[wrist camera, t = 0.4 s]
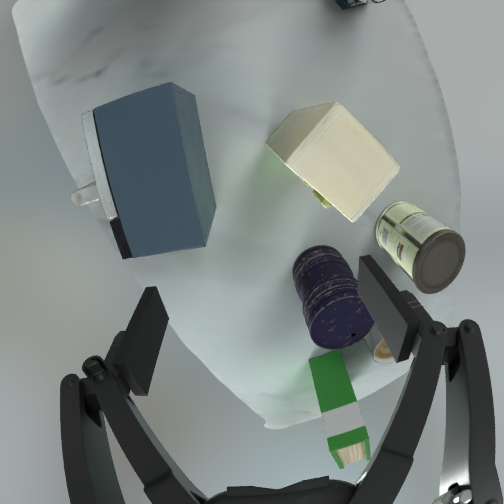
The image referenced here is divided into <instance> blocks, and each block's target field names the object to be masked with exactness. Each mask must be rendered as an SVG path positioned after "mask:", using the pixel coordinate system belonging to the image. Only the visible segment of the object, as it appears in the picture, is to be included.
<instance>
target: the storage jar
mask: <svg viewBox="0 0 504 504" xmlns="http://www.w3.org/2000/svg"><path fill="white" fill-rule="evenodd" d="M293 278H294V282H295V287H296V290H297V293H298V295H299V298H300V299H301V301H302V303H303V314H304V317H305V321H306V324H307V327H308V329H309V332H310V336H311V339H312V340H313V342H314V343H315V344H316V345H318V346H319V347H322V348H325V349H342V348H346V347H349V346H351V345H353V344H355V343H357V342H359V341H360V340H361V339H363V338H364V337H365V336H366V335H367V334H368V333H369V332H370V330H371V329H372V327H373V325H374V323H375V322H374V320H373V318H372V317H371V315H370V313H369V311H368V310H367V308H366V306H365V304H364V303H363V301H362V299H361V297H360V296H359V294H358V292H357V287H358V281H357V280H356V279H355V278H354V276H353V273H352V271H351V269H350V267H349V265H348V263H347V262H346V260H345V259H344V258H343V257H342V255H341V254H340V253H339V252H338V251H337V250H336V249H335V248H333V247H330V246H325V245H319V246H314V247H311V248H309V249H307V250H306V251H304V252H303V253H302V254H300V256H299V257H298V258H297V260H296V261H295V263H294V266H293Z"/></svg>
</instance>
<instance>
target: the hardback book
mask: <svg viewBox="0 0 504 504" xmlns="http://www.w3.org/2000/svg"><path fill="white" fill-rule="evenodd" d="M309 364H310V368H311V372H312V376H313V380H314V384H315V388H316V393H317V397H318V401H319V405H320V410H321V414H322V418H323V423H324V427H325V432H326V436H327V441H328V445H329V450H330V452H331V454H332V456H333V457H334V459H335V461H336V463H337V464H338V466H339V468H340V469H342V468H344V466H343V465H345V464H349V463H352V462H355V461H358V460H361V459H364V458H366V459H367V460H370V459H371V458H370V445H369V437H368V433H367V430H366V427H365V424H364V421H363V418H362V415H361V412H360V409H359V406H358V403H357V400H356V397H355V394H354V391H353V388H352V385H351V382H350V379H349V376H348V373H347V371H346V368H345V365H344V362H343V359H342V357H341V354H340V351H339V349H338V350H335V351H333V352H330V353H327V354H324V355H321V356H318V357H315V358H312V359H309Z"/></svg>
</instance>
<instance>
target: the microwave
mask: <svg viewBox="0 0 504 504" xmlns="http://www.w3.org/2000/svg"><path fill="white" fill-rule="evenodd" d="M94 114H95V120H96V125H97V130H98V135H99V140H100V145H101V150H102V154H103V158H104V163H105V167H106V171H107V175H108V179H109V182H110V186H111V190H112V193H113V197H114V200H115V204H116V207H117V211H118V214H119V215H118V216H117V217H115V218H114V219H113V220H111V221H110V224H111V227H112V230H113V233H114V237H115V240H116V242H117V245H118V248H119V250H120V253H121V256H122V258H123V260H124V259H130V258H134V259H135V258H140V257H146V256H152V255H158V254H164V253H170V252H176V251H183V250H189V249H195V248H201V247H206V243H207V239H208V236H209V232H210V228H211V225H212V221H213V218H214V214H215V211H216V204H215V199H214V194H213V189H212V184H211V179H210V174H209V169H208V164H207V159H206V154H205V148H204V143H203V138H202V132H201V127H200V122H199V116H198V111H197V105H196V99H195V95H193V94H192V93H190V92H188V91H186V90H185V89H183V88H181V87H179V86H177V85H175V84H174V83H172V82H169V83H166V84H162V85H159V86H155V87H152V88H149V89H146V90H143V91H139V92H136V93H134V94H131V95H128V96H125V97H122V98H120V99H117V100H114V101H112V102H109V103H107V104H104V105H102V106H99V107H97V108H95V109H94Z"/></svg>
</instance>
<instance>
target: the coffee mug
mask: <svg viewBox="0 0 504 504" xmlns="http://www.w3.org/2000/svg"><path fill="white" fill-rule="evenodd" d="M364 339H365V341H366V343H367V345H368V348H369V350H370V352H371V354H372V356H373V358H374V360H375V361H376V362H377V363H380V364H387V363H392V362H394V361H395V359H394V358H393V356H392V354H391V352H390V350H389V348H388V346H387V344H386V342H385V340H384V339H383V337H382V335H381V333H380V331H379V329H378V327H377V326H376V324H375V323H374V325H373V327H372V329H371V330H370V332H369V333H368V334H367V335H366V336H365V337H364Z"/></svg>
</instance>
